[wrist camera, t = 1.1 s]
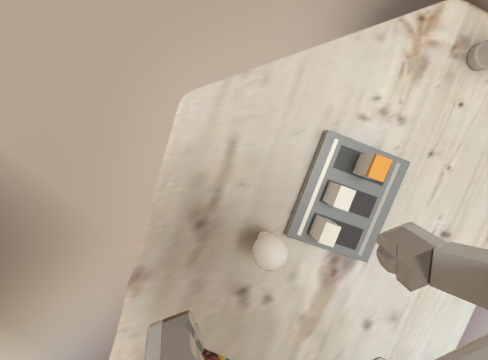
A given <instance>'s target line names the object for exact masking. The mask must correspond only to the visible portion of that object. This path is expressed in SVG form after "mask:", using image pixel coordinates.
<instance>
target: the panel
mask: <svg viewBox="0 0 488 360" xmlns="http://www.w3.org/2000/svg"><path fill="white" fill-rule="evenodd" d="M360 154H378V155H381V156H383V157H386V158H389V159H391V160H393V161H392V163H391V166H390V168H389V170H388V173H387V175H386V177H385V180H384V182H380V181H376V180H372V179H367V178H364V177H361V176H359V175H356V174H353V170H354V168H355V165H356V163H357V160H358V158H359V155H360ZM409 164H410V162H409V161H406V160H404V159H401V158H399V157H396V156H394V155H391V154H389V153H386V152H383V151H381V150H378V149H376V148H373V147H371V146H368V145H366V144H363V143H360V142H358V141H355V140H353V139H350V138H348V137H345V136H343V135H340V134H337V133H335V132H332V131H330V130H325V131H324V133H323V135H322V138H321V140H320V143H319V145H318V148H317V151H316V153H315V156H314V158H313V161H312V163H311V166H310V169H309V171H308V174H307V176H306V179H305V181H304V184H303V187H302V189H301V192H300V194H299V197H298V199H297V202H296V204H295V207H294V210H293V212H292V215H291V217H290V220H289V222H288V225H287V228H286V230H285V234H286V236H288V237H291V238H294V239H297V240H300V241H303V242H306V243H309V244H312V245H315V246H318V247H321V248H324V249H327V250H330V251H333V252H336V253H339V254H342V255H345V256H348V257H352V258H355V259H358V260H361V261H364V262H367V261H368V259H369V257H370V255H371V252H372V250H373V248H374V245H375V243H376V237H377V236H378V234H380V231H381V229H382V227H383V224H384V222H385V220H386V217H387V215H388V213H389V210H390V208H391V206H392V204H393V201H394V199H395V197H396V194H397V192H398V190H399V187H400V185H401V183H402V180H403V178H404V176H405V173H406V171H407V169H408V166H409Z"/></svg>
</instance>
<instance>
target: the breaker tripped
mask: <svg viewBox="0 0 488 360" xmlns="http://www.w3.org/2000/svg"><path fill="white" fill-rule="evenodd" d="M392 161H393V160H391V159H389V158H386V157H383V156H381V155H378V154H360V155H359V158H358V160H357V163H356V165H355V168H354V170H353V174H356V175H359V176H361V177H364V178H367V179H372V180H376V181H380V182H384V180H385V177H386V175H387V173H388V170H389V168H390V166H391V163H392Z"/></svg>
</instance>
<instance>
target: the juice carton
mask: <svg viewBox="0 0 488 360" xmlns="http://www.w3.org/2000/svg"><path fill="white" fill-rule="evenodd" d="M202 356H203V358H204V360H230V359H228V358H225V357H223V356H220V355H218V354H216V353H213V352H211V351H209V350H206V349H204V351H203V353H202Z"/></svg>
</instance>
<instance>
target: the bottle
mask: <svg viewBox="0 0 488 360" xmlns="http://www.w3.org/2000/svg"><path fill="white" fill-rule="evenodd" d="M467 62H468V65H469V66H470V68H472V69H473V70H484V69H487V68H488V40H487V41H484V42H481V43H479V44H477V45H475V46H474V47H473V48H472V49H471V50H470V51H469V53H468V56H467Z"/></svg>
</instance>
